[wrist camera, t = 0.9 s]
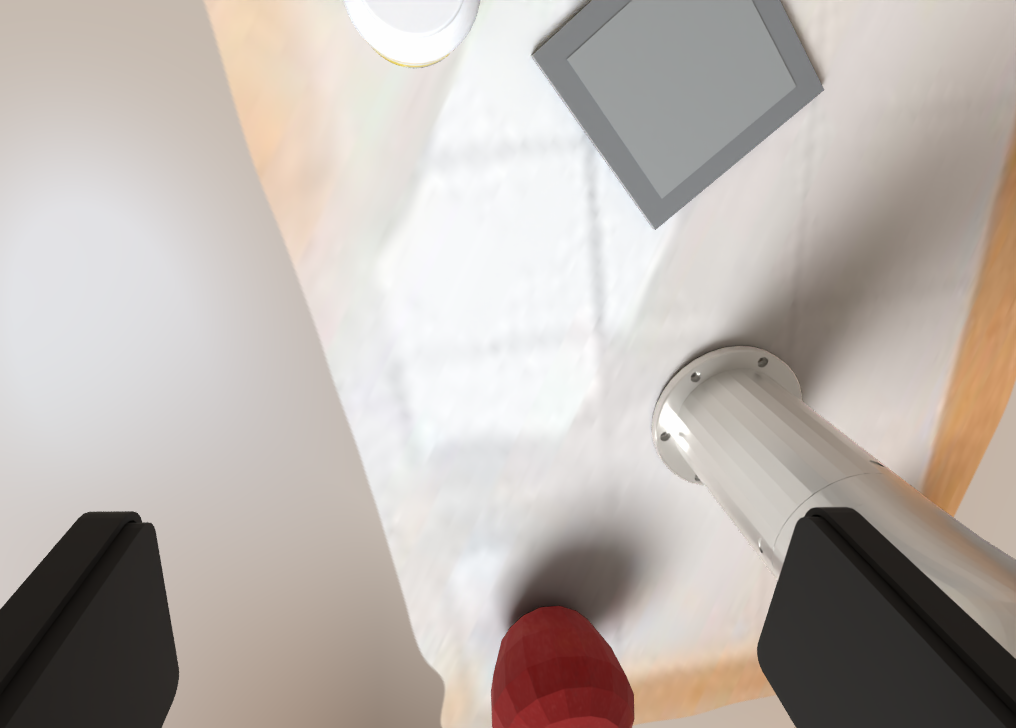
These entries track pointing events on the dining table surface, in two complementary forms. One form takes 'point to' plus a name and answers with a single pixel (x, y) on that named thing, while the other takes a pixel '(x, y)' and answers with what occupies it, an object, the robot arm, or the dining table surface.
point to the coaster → (677, 88)
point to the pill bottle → (413, 27)
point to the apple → (559, 675)
